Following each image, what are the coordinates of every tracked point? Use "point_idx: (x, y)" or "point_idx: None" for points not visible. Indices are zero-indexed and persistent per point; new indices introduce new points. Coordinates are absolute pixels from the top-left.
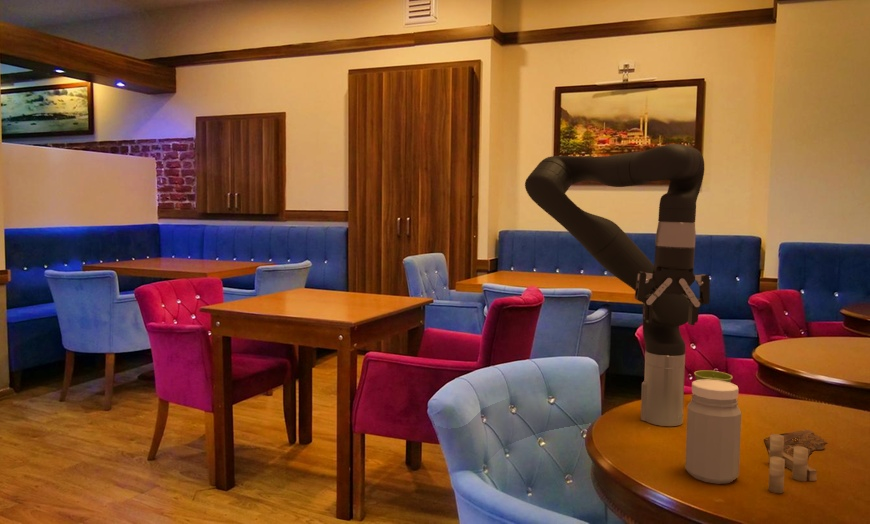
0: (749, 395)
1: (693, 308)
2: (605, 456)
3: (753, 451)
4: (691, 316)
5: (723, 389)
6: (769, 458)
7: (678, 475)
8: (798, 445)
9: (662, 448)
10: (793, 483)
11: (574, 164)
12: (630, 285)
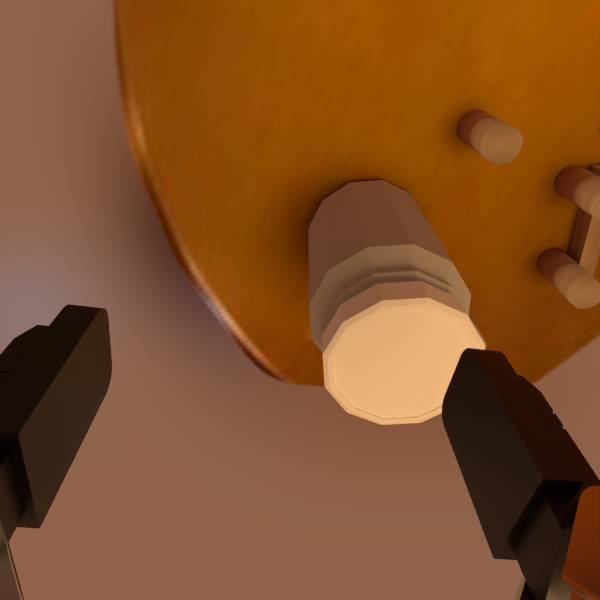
0: None
1: (502, 547)
2: (135, 96)
3: (596, 76)
4: (463, 466)
5: (398, 410)
6: (565, 178)
7: (288, 229)
8: None
9: (329, 33)
10: (517, 280)
11: None
12: None
